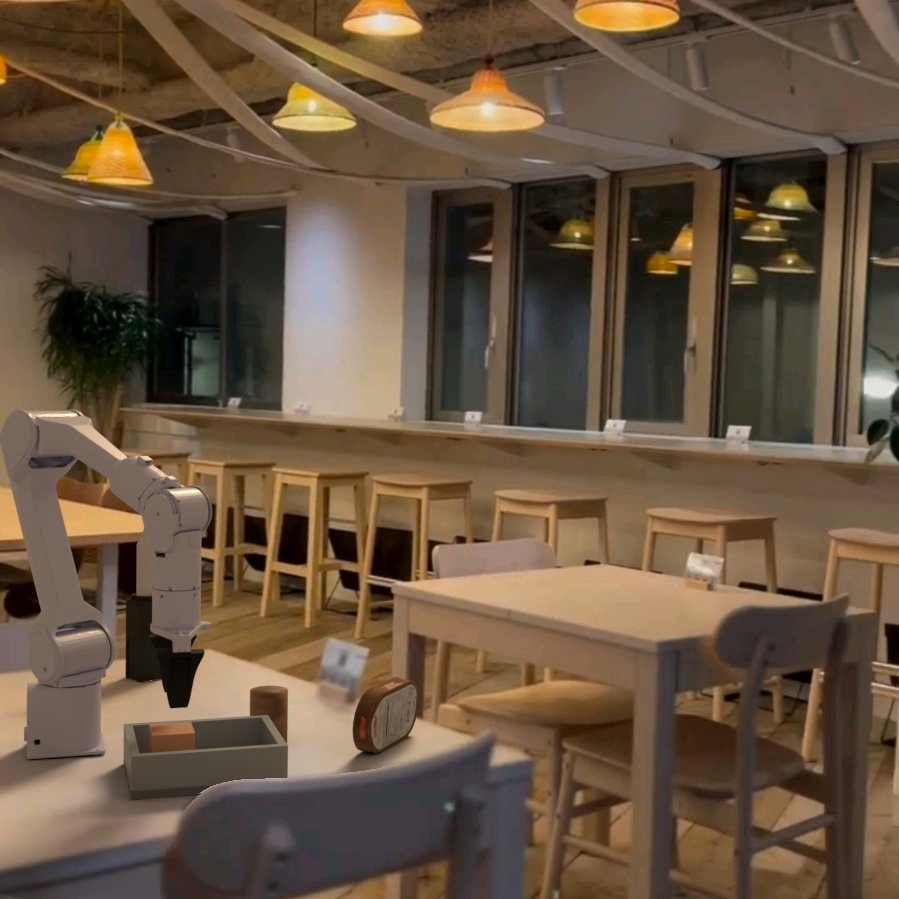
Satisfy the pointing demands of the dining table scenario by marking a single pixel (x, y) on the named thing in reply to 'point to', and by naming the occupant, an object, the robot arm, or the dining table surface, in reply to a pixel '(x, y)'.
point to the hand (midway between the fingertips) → (175, 699)
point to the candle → (141, 620)
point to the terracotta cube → (171, 737)
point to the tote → (204, 757)
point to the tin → (385, 715)
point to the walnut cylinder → (271, 705)
